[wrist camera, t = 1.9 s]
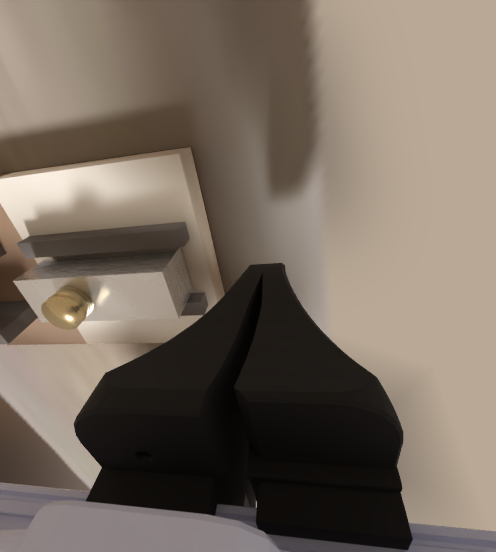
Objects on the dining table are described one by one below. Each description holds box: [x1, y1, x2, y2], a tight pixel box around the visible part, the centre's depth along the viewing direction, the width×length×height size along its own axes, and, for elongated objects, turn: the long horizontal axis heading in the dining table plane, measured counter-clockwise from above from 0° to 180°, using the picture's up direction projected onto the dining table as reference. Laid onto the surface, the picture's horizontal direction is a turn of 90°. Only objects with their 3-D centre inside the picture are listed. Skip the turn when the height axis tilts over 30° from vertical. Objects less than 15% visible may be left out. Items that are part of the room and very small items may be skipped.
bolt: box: [13, 247, 193, 330], centre depth 13 cm, size 2×7×3 cm, turn 99°
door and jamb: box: [0, 147, 225, 345], centre depth 14 cm, size 10×15×4 cm, turn 99°
